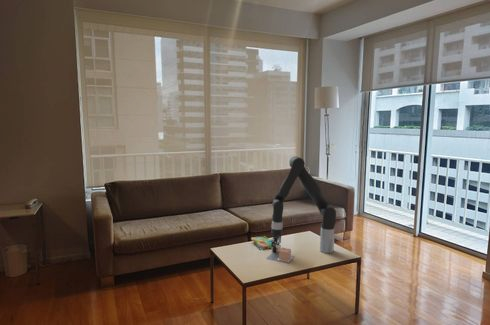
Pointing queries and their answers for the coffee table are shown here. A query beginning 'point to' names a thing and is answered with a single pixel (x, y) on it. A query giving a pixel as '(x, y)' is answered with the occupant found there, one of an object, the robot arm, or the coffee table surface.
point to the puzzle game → (262, 242)
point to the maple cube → (277, 248)
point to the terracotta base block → (284, 254)
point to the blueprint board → (275, 257)
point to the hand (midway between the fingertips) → (275, 250)
